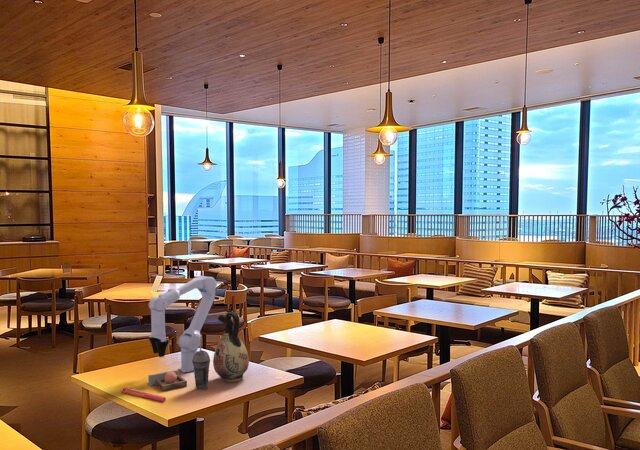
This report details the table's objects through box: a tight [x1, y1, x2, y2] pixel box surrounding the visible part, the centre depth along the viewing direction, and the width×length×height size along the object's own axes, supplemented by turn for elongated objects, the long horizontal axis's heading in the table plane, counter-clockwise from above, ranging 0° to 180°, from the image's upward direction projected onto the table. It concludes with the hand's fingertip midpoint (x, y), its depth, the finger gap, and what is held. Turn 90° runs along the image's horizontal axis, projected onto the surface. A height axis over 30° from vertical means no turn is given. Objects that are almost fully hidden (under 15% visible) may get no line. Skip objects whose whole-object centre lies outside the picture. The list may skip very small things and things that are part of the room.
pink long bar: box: [121, 387, 167, 403], centre depth 193 cm, size 24×2×5 cm
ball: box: [164, 371, 178, 384], centre depth 205 cm, size 5×5×5 cm
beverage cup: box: [192, 338, 211, 391], centre depth 201 cm, size 7×7×20 cm
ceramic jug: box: [212, 311, 250, 383], centre depth 212 cm, size 17×15×30 cm
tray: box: [155, 374, 188, 392], centre depth 206 cm, size 10×10×2 cm
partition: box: [147, 369, 178, 387], centre depth 210 cm, size 12×3×4 cm, turn 124°
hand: (158, 354), depth 217 cm, fingers open, 7 cm apart
